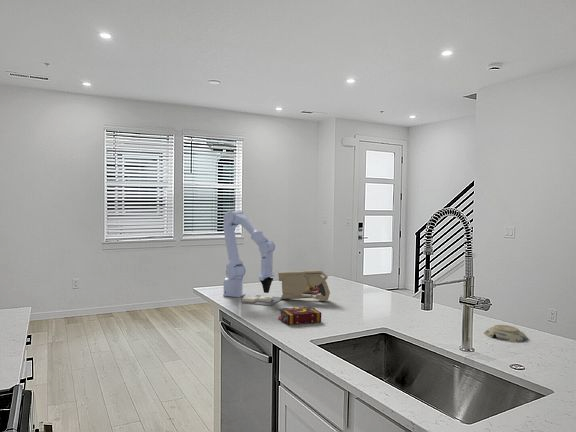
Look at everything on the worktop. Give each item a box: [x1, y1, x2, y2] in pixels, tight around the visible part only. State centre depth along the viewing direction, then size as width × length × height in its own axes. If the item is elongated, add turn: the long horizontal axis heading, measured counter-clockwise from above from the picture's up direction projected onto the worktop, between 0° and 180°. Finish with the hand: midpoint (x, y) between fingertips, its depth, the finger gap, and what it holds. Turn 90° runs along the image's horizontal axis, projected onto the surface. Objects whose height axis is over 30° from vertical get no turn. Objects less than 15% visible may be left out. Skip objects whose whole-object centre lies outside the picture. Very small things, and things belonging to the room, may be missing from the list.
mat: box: [241, 294, 283, 307], centre depth 221 cm, size 15×18×1 cm
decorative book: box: [277, 305, 322, 326], centre depth 186 cm, size 11×16×5 cm
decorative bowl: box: [483, 324, 529, 343], centre depth 169 cm, size 15×4×15 cm
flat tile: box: [241, 295, 259, 303], centre depth 218 cm, size 6×6×2 cm
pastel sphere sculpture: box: [303, 285, 321, 294], centre depth 252 cm, size 25×24×9 cm
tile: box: [258, 295, 274, 302], centre depth 220 cm, size 6×2×6 cm
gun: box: [277, 269, 331, 303], centre depth 223 cm, size 25×3×16 cm, turn 84°
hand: (266, 292), depth 222 cm, fingers closed
